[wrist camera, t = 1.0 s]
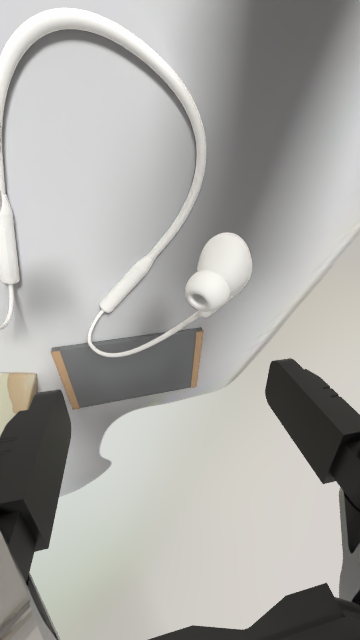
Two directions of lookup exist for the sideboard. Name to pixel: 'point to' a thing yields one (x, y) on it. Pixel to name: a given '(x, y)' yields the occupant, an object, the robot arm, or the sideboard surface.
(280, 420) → the robot arm
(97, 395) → the mat
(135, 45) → the earphone
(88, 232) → the sideboard surface
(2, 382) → the box
